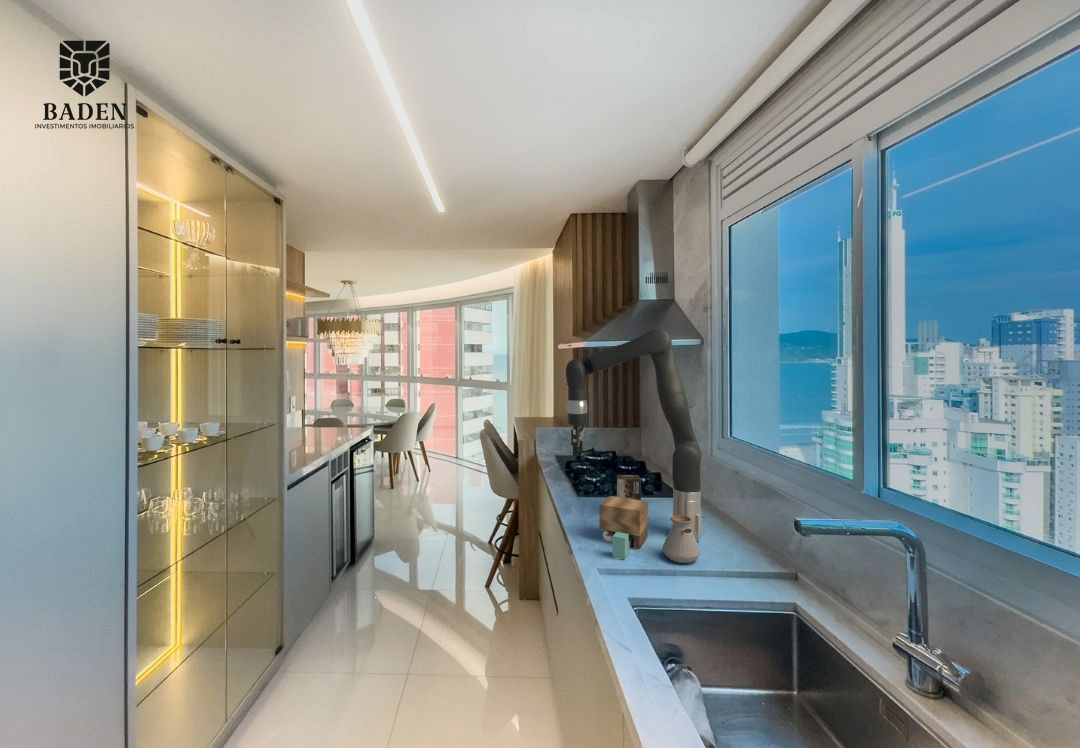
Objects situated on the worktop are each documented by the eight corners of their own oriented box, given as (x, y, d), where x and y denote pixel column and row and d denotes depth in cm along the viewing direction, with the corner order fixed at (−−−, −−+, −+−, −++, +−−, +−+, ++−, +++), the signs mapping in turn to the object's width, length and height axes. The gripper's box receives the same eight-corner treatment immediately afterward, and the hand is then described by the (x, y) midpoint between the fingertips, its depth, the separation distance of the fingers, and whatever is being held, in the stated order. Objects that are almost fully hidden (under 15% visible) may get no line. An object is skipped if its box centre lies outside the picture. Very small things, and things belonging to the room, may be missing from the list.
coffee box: (639, 514, 184) (639, 474, 183) (641, 519, 178) (641, 479, 177) (616, 513, 185) (616, 474, 184) (617, 519, 179) (618, 478, 178)
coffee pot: (660, 549, 150) (660, 504, 150) (696, 552, 148) (697, 506, 148) (668, 581, 129) (669, 529, 129) (711, 584, 127) (712, 531, 127)
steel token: (619, 538, 159) (619, 532, 159) (614, 544, 155) (614, 537, 155) (605, 536, 162) (605, 529, 162) (600, 541, 157) (600, 534, 157)
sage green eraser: (638, 541, 157) (638, 521, 156) (624, 560, 142) (624, 538, 142) (627, 539, 159) (627, 519, 158) (612, 557, 144) (612, 536, 144)
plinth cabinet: (647, 537, 160) (647, 501, 159) (639, 549, 150) (639, 510, 150) (609, 530, 166) (609, 495, 166) (599, 541, 156) (599, 504, 156)
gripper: (584, 414, 165) (584, 458, 166) (590, 409, 179) (590, 450, 180) (564, 413, 167) (564, 457, 168) (571, 409, 181) (571, 450, 181)
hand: (577, 453), depth 174 cm, fingers open, 8 cm apart
